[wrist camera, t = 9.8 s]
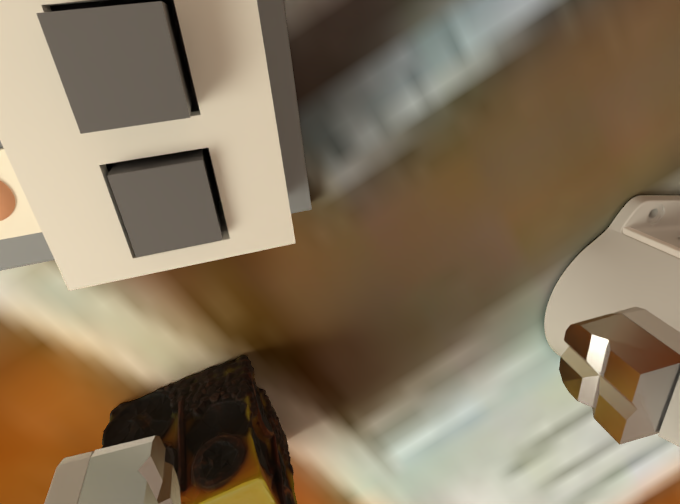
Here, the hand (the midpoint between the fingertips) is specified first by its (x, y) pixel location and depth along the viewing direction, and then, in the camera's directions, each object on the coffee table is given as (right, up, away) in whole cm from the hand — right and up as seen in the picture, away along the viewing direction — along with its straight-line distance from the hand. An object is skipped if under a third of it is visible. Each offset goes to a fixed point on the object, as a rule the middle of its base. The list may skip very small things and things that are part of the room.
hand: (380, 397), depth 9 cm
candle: (-11, -10, +25) cm, 29 cm away
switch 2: (-9, +7, +15) cm, 19 cm away
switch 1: (-10, +11, +11) cm, 18 cm away
